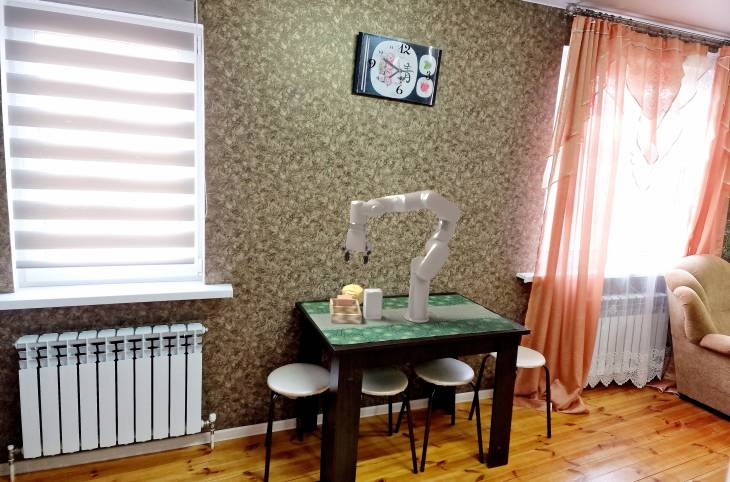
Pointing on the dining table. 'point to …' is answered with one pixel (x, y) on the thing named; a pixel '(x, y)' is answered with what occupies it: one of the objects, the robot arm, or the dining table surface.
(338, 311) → the crate
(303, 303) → the dining table surface
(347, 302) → the peach cube
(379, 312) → the skincare box
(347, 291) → the sculpture
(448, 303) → the dining table surface
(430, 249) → the robot arm
